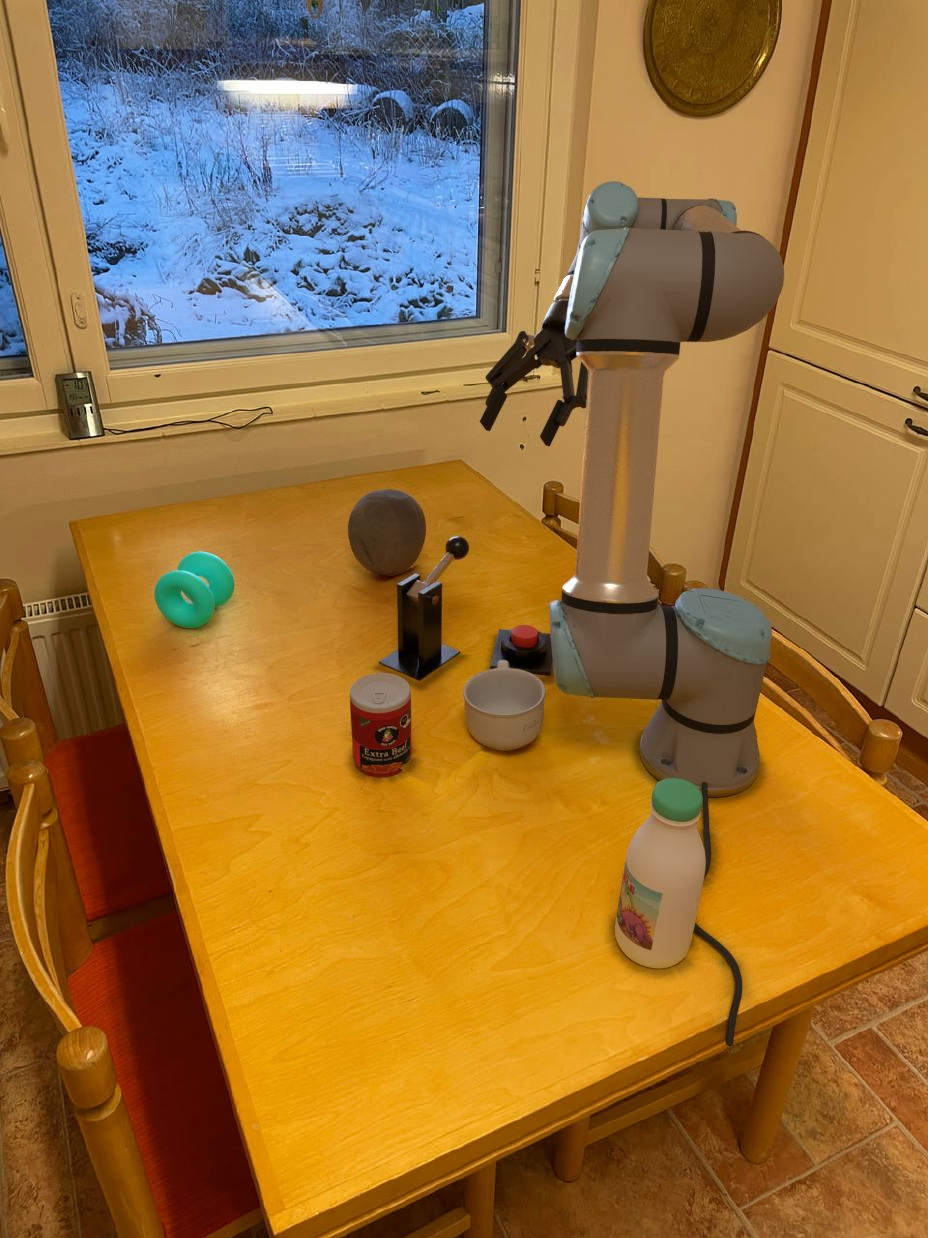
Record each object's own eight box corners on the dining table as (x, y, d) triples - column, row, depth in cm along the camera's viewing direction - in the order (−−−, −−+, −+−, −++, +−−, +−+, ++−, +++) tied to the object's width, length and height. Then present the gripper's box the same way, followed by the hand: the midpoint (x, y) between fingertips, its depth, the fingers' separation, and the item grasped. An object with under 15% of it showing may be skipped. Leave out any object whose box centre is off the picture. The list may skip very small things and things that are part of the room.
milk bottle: (679, 910, 97) (708, 765, 87) (697, 970, 91) (731, 820, 81) (608, 911, 97) (629, 765, 87) (621, 972, 90) (645, 821, 80)
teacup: (536, 767, 117) (540, 717, 113) (454, 755, 119) (455, 706, 115) (549, 706, 129) (553, 659, 125) (474, 696, 131) (476, 649, 127)
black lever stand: (420, 641, 144) (419, 563, 137) (460, 657, 140) (462, 578, 133) (378, 668, 137) (376, 587, 130) (419, 686, 133) (419, 604, 126)
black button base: (549, 681, 135) (551, 661, 133) (490, 675, 136) (490, 655, 134) (554, 643, 144) (555, 624, 142) (498, 637, 145) (499, 619, 143)
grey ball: (438, 580, 162) (438, 503, 154) (361, 593, 157) (358, 514, 149) (412, 548, 173) (411, 474, 165) (340, 559, 168) (336, 483, 161)
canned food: (358, 783, 114) (355, 712, 108) (348, 745, 121) (344, 676, 115) (417, 773, 116) (417, 703, 110) (404, 736, 122) (403, 668, 117)
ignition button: (536, 649, 136) (537, 639, 135) (509, 647, 137) (510, 636, 136) (538, 636, 140) (539, 625, 139) (512, 633, 140) (513, 623, 139)
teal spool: (155, 626, 146) (146, 571, 141) (186, 597, 154) (178, 545, 149) (212, 635, 144) (205, 579, 139) (240, 605, 152) (234, 552, 147)
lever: (457, 544, 140) (451, 528, 137) (476, 551, 138) (470, 534, 135) (407, 605, 134) (401, 589, 131) (426, 612, 132) (420, 596, 129)
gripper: (645, 338, 140) (586, 462, 137) (521, 317, 152) (464, 430, 148) (633, 308, 134) (570, 437, 131) (504, 288, 145) (444, 406, 142)
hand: (514, 433), depth 140 cm, fingers open, 10 cm apart
